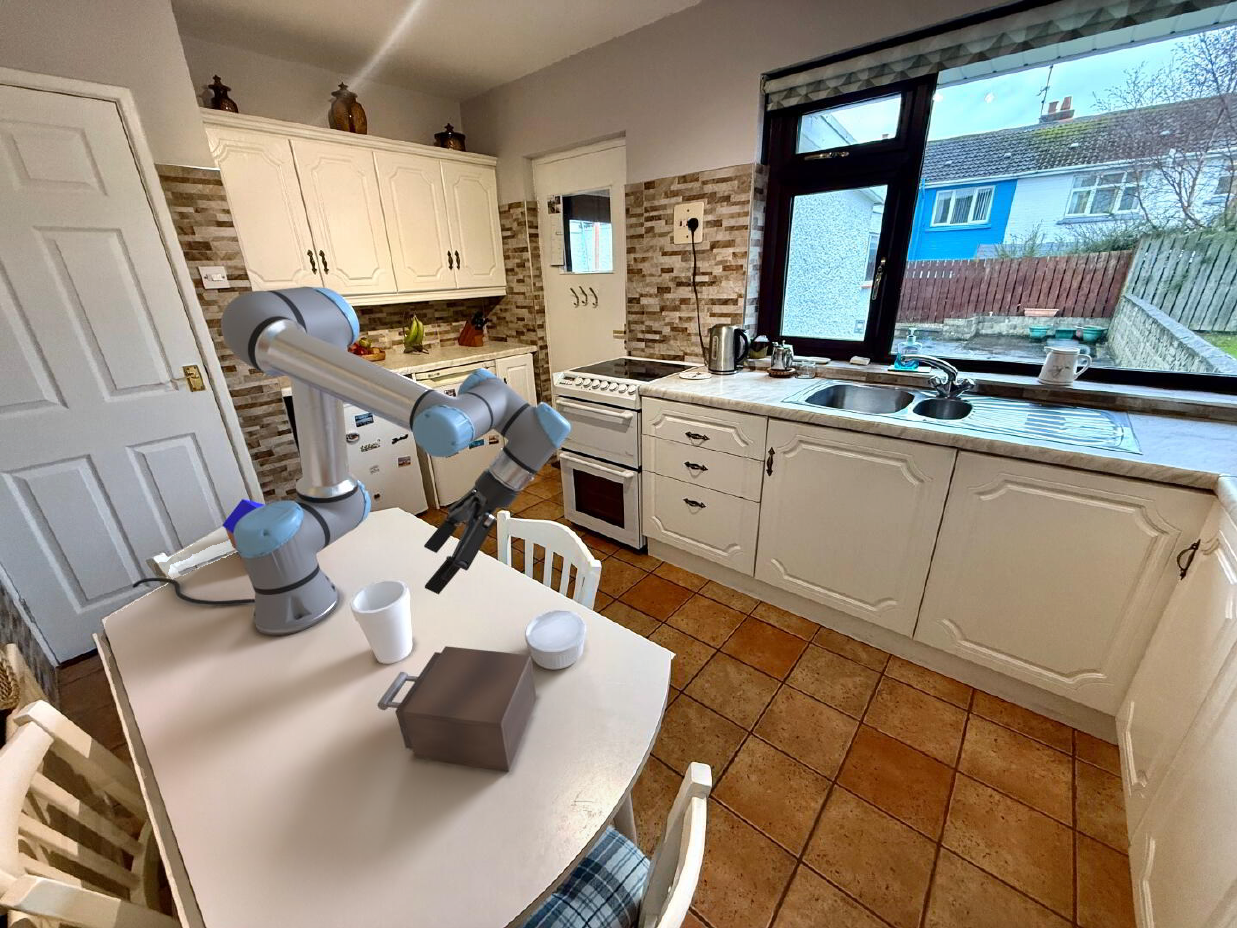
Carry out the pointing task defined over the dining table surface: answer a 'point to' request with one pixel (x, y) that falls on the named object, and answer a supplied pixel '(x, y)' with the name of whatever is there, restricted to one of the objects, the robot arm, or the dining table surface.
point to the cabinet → (472, 708)
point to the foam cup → (385, 618)
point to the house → (238, 517)
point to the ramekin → (556, 638)
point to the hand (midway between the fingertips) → (430, 568)
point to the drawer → (395, 688)
